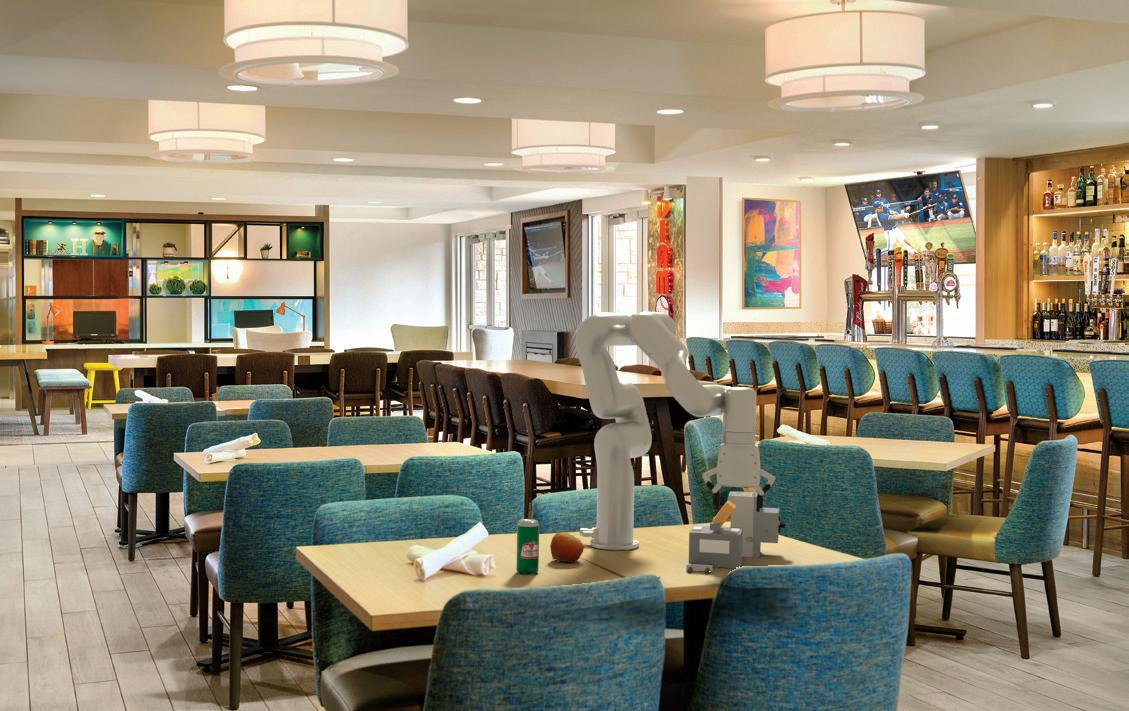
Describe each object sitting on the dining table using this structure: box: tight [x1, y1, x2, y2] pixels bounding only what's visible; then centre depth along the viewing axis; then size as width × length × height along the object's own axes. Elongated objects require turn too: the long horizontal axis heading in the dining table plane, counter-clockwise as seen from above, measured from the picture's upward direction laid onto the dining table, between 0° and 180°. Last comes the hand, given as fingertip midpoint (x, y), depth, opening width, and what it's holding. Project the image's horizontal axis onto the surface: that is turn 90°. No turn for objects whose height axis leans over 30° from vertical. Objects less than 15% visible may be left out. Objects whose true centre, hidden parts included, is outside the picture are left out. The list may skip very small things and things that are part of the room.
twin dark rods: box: [685, 562, 714, 574], centre depth 274 cm, size 6×8×1 cm
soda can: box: [515, 518, 540, 576], centre depth 268 cm, size 5×5×12 cm
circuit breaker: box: [727, 491, 787, 558], centre depth 293 cm, size 8×14×15 cm, turn 78°
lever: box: [711, 499, 736, 528], centre depth 281 cm, size 2×6×7 cm
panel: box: [688, 516, 743, 569], centre depth 282 cm, size 12×10×10 cm
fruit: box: [550, 531, 585, 565], centre depth 281 cm, size 8×8×8 cm
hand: (737, 510), depth 280 cm, fingers open, 9 cm apart
